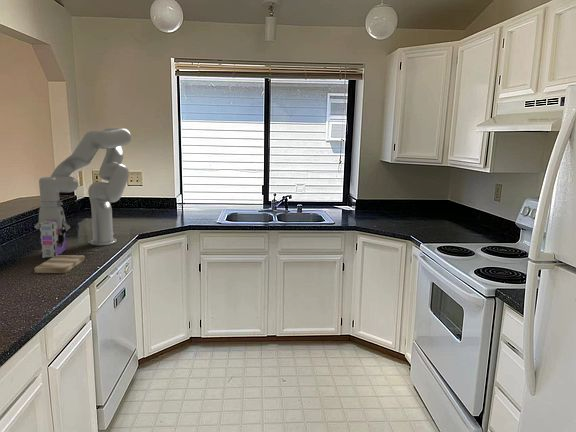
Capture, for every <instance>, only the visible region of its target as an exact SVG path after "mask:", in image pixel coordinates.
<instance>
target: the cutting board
mask: <svg viewBox="0 0 576 432" xmlns="http://www.w3.org/2000/svg"><path fill="white" fill-rule="evenodd" d="M83 261H85V255H80V254H79V255H77V254H75V255H74V254H67V255H66V254H64V255H63V254H60V255H56V256H54V257H52V258H48V260H46V261H43V262H42V263H41V264H38V265H37V266H35V267H34V273H36V274H37V273H38V274H39V273H40V274H41V273H43V274H44V273H49V274H53V273H54V274H66V273H67V272H69V271H70V270H72V269H73V268H75V267H76V266H78V265H79V264H81V263H82V262H83Z"/></svg>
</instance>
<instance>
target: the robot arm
mask: <svg viewBox="0 0 576 432" xmlns="http://www.w3.org/2000/svg"><path fill="white" fill-rule="evenodd" d="M131 140H132V134H131V132H130V131H129V130H128V129H127V128H124V127H122V128H121V127H107V128H104V129H103V130H89V131H88V132H86V133H85V134H84V135H83V137H82V138H81V140H80V142H79V143H78V145H77V146H76V147H75V149H74V150H73V152H72V154H70V155H69V156H68V157H66V158H65V159H64V160H62V162H60V163H59V164H58V165H57V166H56V167H55V169H54V170H53V172H52V173H51V175H50V176H43V177H41V178H39V180H38V185H39V199H40V200H39V201H40V207H39V211H38V221H37V223H35V225H34V229H36V230H37V231H38V232H39V233H40V226H39V223H41V222H43V221H56V222H57V229H58V233H59V235H58V240H59V244H61V243H63V241H64V233H65V234H66V232H67V231H68V230H69V229H70V228H71V225H70V224H68V223H67V222H66V215H65V212H64V208H63V207H62V206H63V205H64V203H63V202H62V201H61V199H60V193H72V192H75V191H76V190H77V189H78V188H79V180H77V178H75V177H73V176H71V175H72V174H73V173H75V172H76V171H78V170H79V169H81V168H84V167H87V166H88V165H90V164H91V162H92V160H93V159H94V158H95V155H96V154H97V153H98V151H99V149H100V150H101V149H103V150H106V151H105V155H104V158H103V160H102V163H101V165H100V168H99V171H98V177H99V178H100V179H101V180H103V181H95V182H92V183H91V184H90V185H89V187H88V192H87V194H88V198H89V201H90V208H91V225H92V239H91V240H89V244H90V245H93V246H108V245H113V244H115V243H117V239H116V238H114V235H115V233H114V229H113V227H114V226H113V209H112V205H111V204H112V203H116V202H118V201H120V199H121V198H122V195H123V194H124V190H125V188H126V185H127V182H128V180H129V176H130V173H129V172H130V171H129V169H128V167H127V166H126V165H125V164H123V163H122V162H123V160H124V151H123V146H126V145H128V144H130V143H131V142H132V141H131ZM104 181H106V182H104ZM63 227H65V229H63Z"/></svg>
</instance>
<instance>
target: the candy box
mask: <svg viewBox="0 0 576 432" xmlns="http://www.w3.org/2000/svg"><path fill="white" fill-rule="evenodd" d="M39 226H40V232H39V235H40V236H39V237H40V247H41V248H40V249H41V258H42V259H51V258H52V257H54V256H56V255H62V254H63V253H65V252H66V251H67V241H66V232H65V233H64V241H63V243H61V244H59V240H58V235H59V233H58V229H57V222H56V221H43V222H41V223H39ZM63 229H65V227H63Z"/></svg>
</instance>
